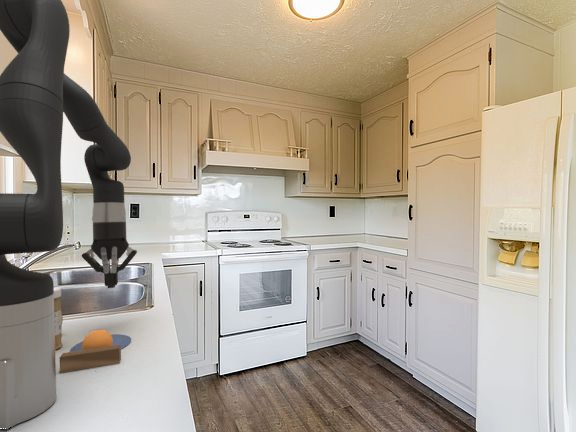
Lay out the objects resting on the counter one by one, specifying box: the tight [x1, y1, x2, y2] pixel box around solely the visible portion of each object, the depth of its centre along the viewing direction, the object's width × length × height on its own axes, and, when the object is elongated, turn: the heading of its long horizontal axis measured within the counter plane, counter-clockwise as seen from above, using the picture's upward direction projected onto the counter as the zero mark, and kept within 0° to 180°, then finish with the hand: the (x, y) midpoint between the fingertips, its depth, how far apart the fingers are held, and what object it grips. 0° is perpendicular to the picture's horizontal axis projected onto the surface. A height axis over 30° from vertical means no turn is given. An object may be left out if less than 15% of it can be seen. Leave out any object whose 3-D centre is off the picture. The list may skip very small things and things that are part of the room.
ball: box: [82, 329, 113, 350], centre depth 66 cm, size 6×6×6 cm
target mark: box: [69, 333, 132, 352], centre depth 71 cm, size 12×12×1 cm
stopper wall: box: [59, 344, 122, 374], centre depth 62 cm, size 2×10×3 cm, turn 111°
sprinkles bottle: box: [53, 286, 63, 351], centre depth 70 cm, size 5×5×14 cm
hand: (111, 287), depth 81 cm, fingers closed
